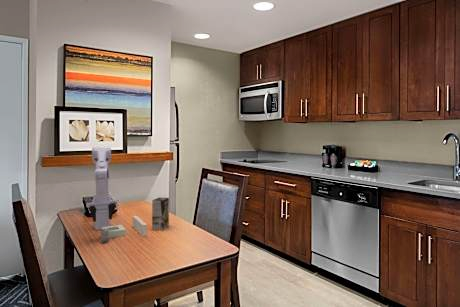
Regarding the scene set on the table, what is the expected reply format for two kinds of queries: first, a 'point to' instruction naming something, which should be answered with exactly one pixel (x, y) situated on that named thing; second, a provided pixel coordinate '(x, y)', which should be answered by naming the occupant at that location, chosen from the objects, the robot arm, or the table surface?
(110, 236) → the socket block
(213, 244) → the table surface
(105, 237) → the dowel
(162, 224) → the coffee box
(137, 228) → the board
